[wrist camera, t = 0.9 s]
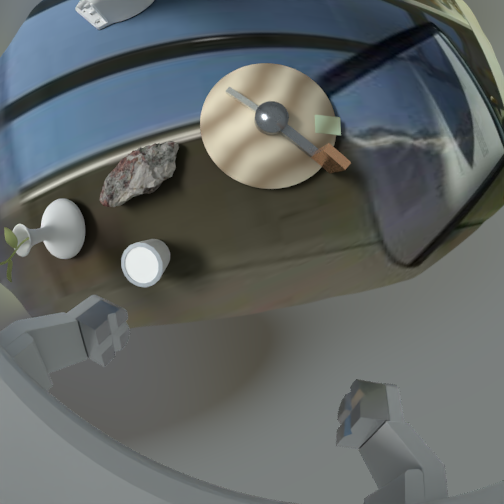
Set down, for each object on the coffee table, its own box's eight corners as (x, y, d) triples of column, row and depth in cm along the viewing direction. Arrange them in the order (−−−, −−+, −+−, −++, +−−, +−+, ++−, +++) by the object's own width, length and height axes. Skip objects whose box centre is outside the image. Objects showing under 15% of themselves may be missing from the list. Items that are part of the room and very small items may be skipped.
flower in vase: (58, 188, 41) (-41, 194, 16) (98, 215, 42) (-4, 239, 18) (39, 245, 43) (-49, 279, 18) (76, 274, 45) (-11, 328, 20)
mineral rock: (176, 136, 41) (169, 130, 36) (188, 180, 42) (182, 179, 38) (101, 168, 41) (89, 167, 37) (112, 210, 43) (100, 212, 38)
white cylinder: (181, 263, 45) (171, 274, 38) (149, 281, 45) (136, 294, 38) (161, 227, 43) (147, 233, 37) (130, 247, 44) (113, 256, 37)
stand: (174, 137, 40) (172, 135, 39) (256, 47, 37) (257, 43, 36) (281, 216, 44) (282, 217, 42) (356, 120, 41) (359, 118, 39)
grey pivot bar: (217, 102, 38) (213, 85, 31) (237, 80, 37) (236, 61, 30) (323, 181, 41) (337, 179, 34) (340, 158, 40) (357, 153, 33)
